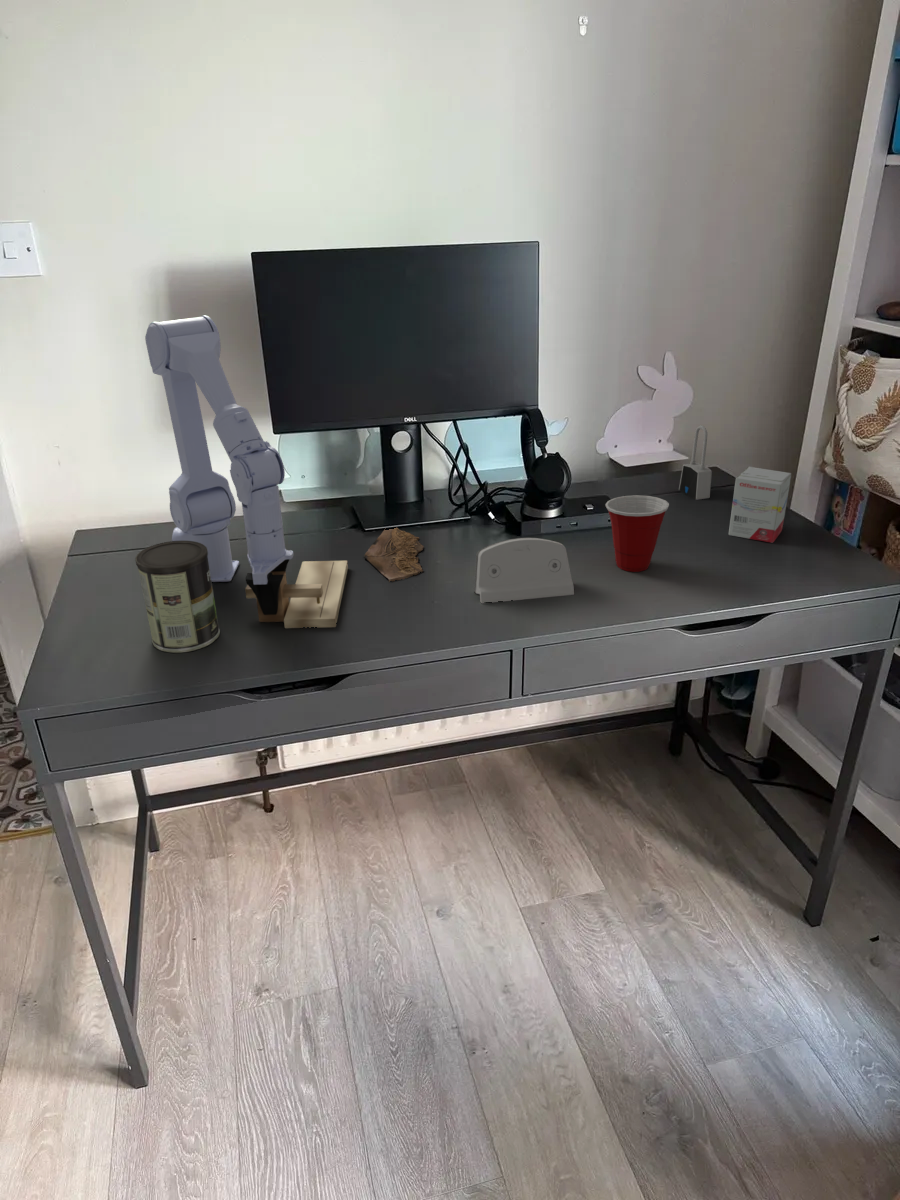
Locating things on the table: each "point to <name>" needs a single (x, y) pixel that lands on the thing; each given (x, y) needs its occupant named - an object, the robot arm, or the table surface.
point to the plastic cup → (635, 529)
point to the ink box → (759, 504)
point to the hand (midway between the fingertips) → (273, 605)
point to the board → (307, 609)
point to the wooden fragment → (395, 554)
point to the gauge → (287, 597)
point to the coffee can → (178, 595)
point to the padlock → (696, 473)
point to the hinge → (522, 570)
